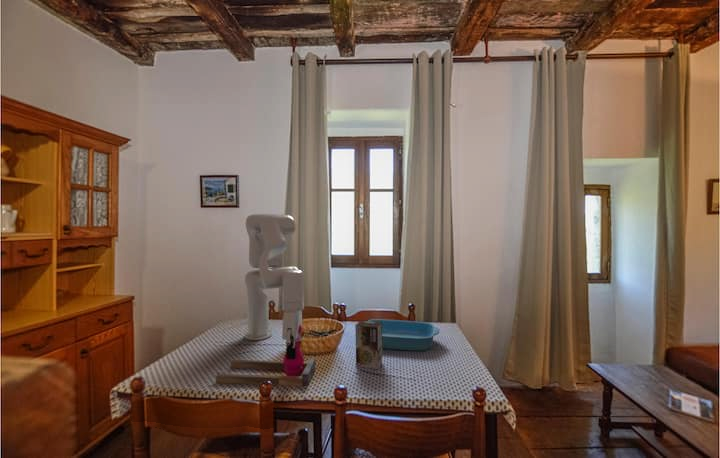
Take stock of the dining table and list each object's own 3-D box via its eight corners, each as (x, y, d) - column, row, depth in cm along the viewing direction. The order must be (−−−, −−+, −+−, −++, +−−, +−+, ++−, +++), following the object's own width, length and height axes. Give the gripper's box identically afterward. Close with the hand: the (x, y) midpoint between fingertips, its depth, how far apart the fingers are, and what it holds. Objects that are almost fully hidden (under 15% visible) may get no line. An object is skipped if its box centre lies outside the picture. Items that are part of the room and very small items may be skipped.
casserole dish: (351, 348, 147) (351, 332, 146) (363, 331, 168) (363, 316, 168) (439, 356, 138) (439, 339, 137) (439, 337, 159) (439, 322, 159)
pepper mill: (299, 378, 117) (299, 321, 116) (280, 376, 118) (279, 320, 117) (306, 369, 124) (306, 315, 123) (288, 367, 125) (287, 314, 124)
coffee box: (382, 362, 132) (382, 321, 131) (378, 369, 126) (378, 327, 125) (360, 359, 135) (360, 319, 134) (355, 366, 128) (355, 324, 128)
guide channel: (232, 366, 129) (232, 355, 129) (315, 368, 127) (315, 357, 127) (216, 383, 116) (215, 371, 116) (308, 385, 114) (307, 374, 114)
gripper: (289, 298, 129) (289, 345, 129) (275, 311, 111) (275, 365, 112) (308, 299, 128) (309, 345, 129) (297, 312, 111) (298, 366, 112)
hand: (293, 354), depth 121 cm, fingers closed on pepper mill, 5 cm apart
